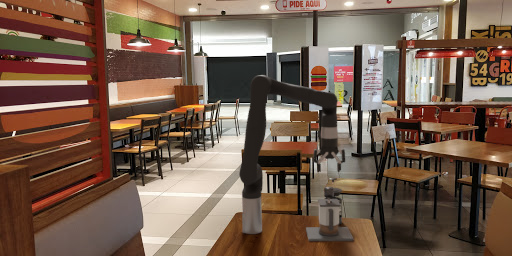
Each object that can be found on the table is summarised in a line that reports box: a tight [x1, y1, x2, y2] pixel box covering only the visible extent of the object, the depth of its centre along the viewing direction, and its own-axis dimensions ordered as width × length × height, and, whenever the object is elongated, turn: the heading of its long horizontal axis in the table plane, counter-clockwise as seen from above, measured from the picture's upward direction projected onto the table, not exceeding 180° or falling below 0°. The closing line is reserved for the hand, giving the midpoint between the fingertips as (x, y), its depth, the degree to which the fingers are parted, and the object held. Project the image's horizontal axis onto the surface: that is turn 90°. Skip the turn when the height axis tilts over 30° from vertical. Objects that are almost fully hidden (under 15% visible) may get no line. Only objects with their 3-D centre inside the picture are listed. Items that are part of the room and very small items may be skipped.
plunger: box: [323, 186, 335, 203], centre depth 187 cm, size 4×4×15 cm
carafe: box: [317, 198, 341, 237], centre depth 186 cm, size 9×12×15 cm
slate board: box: [305, 226, 354, 242], centre depth 189 cm, size 20×14×1 cm
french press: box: [323, 177, 343, 226], centre depth 204 cm, size 12×9×23 cm
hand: (329, 171), depth 185 cm, fingers open, 8 cm apart
